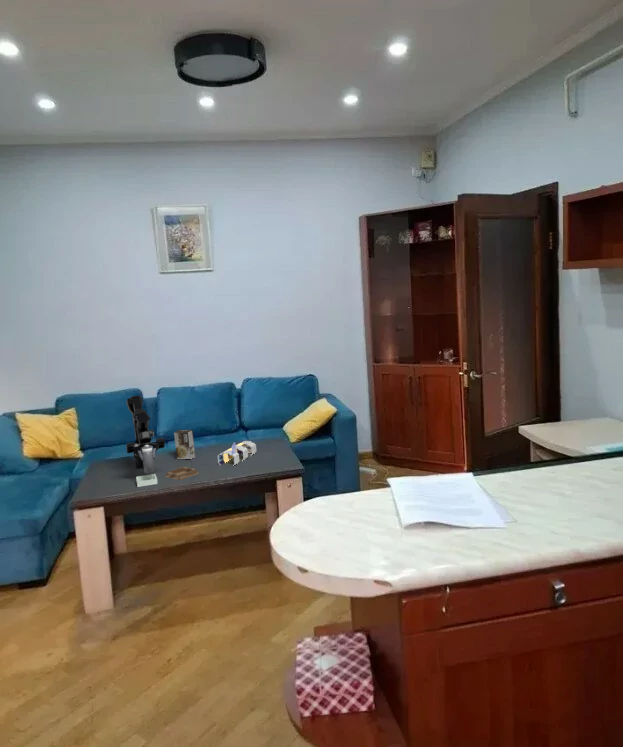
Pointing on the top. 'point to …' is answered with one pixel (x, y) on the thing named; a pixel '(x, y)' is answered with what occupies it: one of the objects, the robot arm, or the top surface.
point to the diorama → (237, 452)
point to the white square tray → (146, 480)
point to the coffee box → (184, 444)
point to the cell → (148, 459)
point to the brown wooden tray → (181, 473)
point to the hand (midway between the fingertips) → (148, 459)
